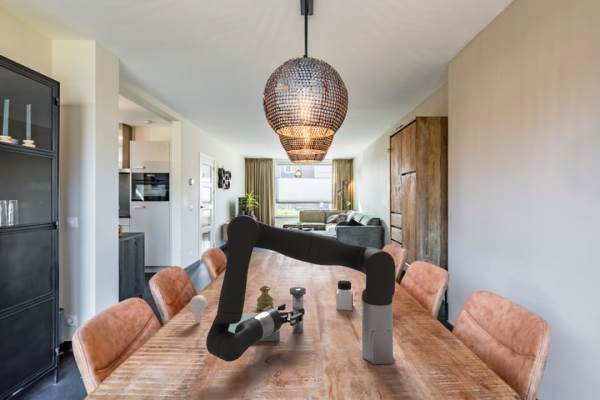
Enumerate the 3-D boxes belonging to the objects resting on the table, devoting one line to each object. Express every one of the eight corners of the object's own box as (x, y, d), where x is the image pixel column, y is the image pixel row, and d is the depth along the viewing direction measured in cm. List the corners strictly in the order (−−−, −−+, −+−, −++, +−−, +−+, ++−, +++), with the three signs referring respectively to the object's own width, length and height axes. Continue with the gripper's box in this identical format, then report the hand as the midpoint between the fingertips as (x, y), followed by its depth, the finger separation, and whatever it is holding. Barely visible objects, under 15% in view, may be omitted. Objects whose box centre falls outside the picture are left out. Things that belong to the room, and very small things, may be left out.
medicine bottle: (352, 310, 131) (352, 283, 131) (336, 309, 133) (335, 282, 133) (352, 305, 138) (352, 279, 138) (337, 304, 140) (337, 278, 140)
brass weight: (276, 307, 136) (276, 285, 136) (266, 312, 130) (265, 289, 130) (264, 304, 140) (264, 283, 140) (253, 309, 134) (253, 286, 134)
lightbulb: (201, 318, 123) (200, 292, 123) (209, 322, 119) (209, 295, 119) (187, 323, 119) (187, 296, 119) (195, 327, 115) (195, 299, 115)
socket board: (279, 340, 104) (279, 331, 104) (227, 342, 102) (227, 334, 102) (278, 319, 122) (278, 312, 122) (234, 321, 120) (234, 314, 120)
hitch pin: (306, 333, 109) (306, 291, 109) (290, 334, 108) (290, 291, 108) (305, 326, 115) (304, 286, 115) (289, 327, 114) (289, 287, 114)
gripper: (281, 316, 92) (310, 301, 105) (248, 307, 100) (278, 294, 113) (282, 341, 92) (310, 323, 105) (248, 330, 100) (278, 314, 113)
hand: (293, 308), depth 109 cm, fingers open, 8 cm apart
